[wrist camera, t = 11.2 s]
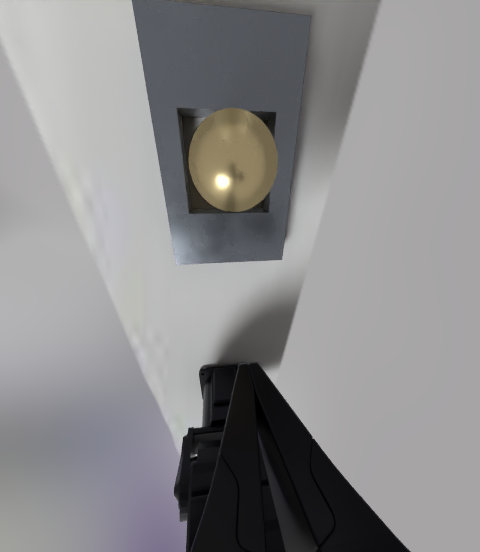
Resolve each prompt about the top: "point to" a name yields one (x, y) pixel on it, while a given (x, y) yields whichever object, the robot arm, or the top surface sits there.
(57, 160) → the top surface
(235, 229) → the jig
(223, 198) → the gold rounded cylinder
